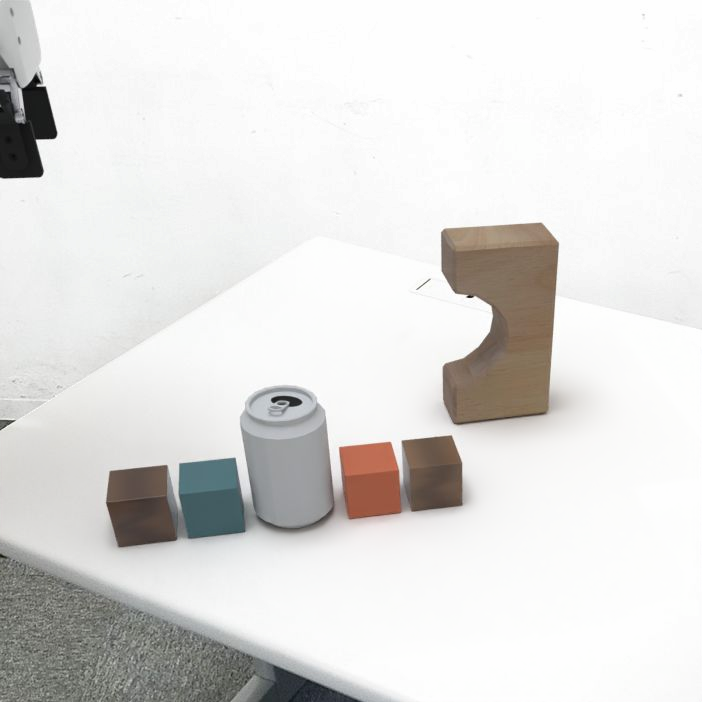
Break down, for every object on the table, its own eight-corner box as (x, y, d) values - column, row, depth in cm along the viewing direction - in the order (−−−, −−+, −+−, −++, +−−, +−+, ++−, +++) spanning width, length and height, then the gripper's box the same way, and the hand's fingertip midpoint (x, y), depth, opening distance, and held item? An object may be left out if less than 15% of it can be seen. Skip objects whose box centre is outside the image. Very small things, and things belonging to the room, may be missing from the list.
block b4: (411, 511, 93) (409, 468, 90) (403, 482, 96) (401, 440, 93) (462, 505, 94) (462, 462, 91) (452, 476, 98) (451, 434, 94)
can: (347, 494, 94) (337, 386, 87) (316, 540, 88) (302, 428, 81) (276, 481, 95) (260, 373, 88) (240, 525, 90) (220, 414, 82)
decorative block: (452, 425, 105) (451, 248, 93) (442, 399, 109) (439, 226, 97) (549, 415, 108) (560, 241, 96) (535, 390, 112) (544, 220, 100)
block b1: (118, 547, 86) (105, 502, 83) (121, 514, 90) (109, 470, 87) (176, 540, 87) (166, 495, 84) (177, 508, 91) (167, 464, 88)
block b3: (348, 519, 91) (344, 475, 88) (342, 489, 95) (338, 446, 92) (401, 512, 92) (399, 469, 89) (393, 483, 96) (391, 441, 93)
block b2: (188, 538, 88) (178, 494, 85) (188, 506, 91) (179, 463, 88) (245, 531, 89) (237, 487, 86) (243, 500, 93) (235, 457, 90)
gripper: (-74, -115, 72) (-5, 127, 82) (-134, -86, 59) (-42, 196, 69) (35, -111, 73) (89, 124, 84) (1, -83, 60) (70, 191, 71)
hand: (30, 156), depth 77 cm, fingers open, 9 cm apart
